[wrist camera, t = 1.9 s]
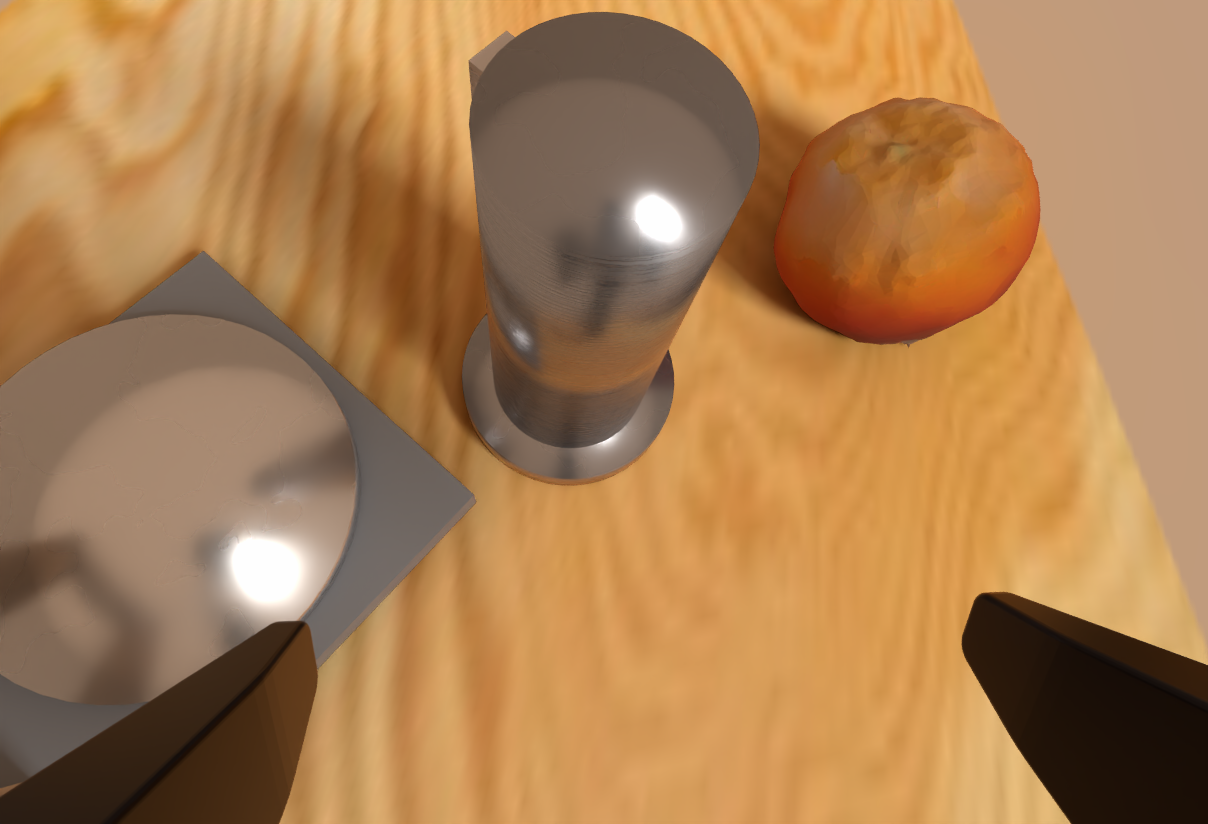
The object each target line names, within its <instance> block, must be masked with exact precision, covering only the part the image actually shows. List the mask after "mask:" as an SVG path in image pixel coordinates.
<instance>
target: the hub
mask: <svg viewBox="0 0 1208 824" xmlns="http://www.w3.org/2000/svg"><path fill="white" fill-rule="evenodd" d="M469 72H470V83H471V95H472V102H471V107H470V119H469V128H470V138H471V149H472V159H473V170H474V180H475V191H476V201H477V212H478V222H479V233H480V243H481V254H482V264H483V275H484V285H485V296H486V306H487V314H486V315H485V316H484V317H483V318H482V320H481V321H480V323H479V324H478V326H477V327H476V328H475V330H474V332H473V334H472V336H471V338H470V340H469V343H468V346H467V349H466V352H465V356H464V361H463V369H462V384H463V393H464V397H465V402H466V406H467V410H468V414H469V417H470V420H471V422H472V425H473V427H474V429H475V431H476V433H477V434H478V436H479V438H480V439H481V441H482V442H483V443H484V445H485V446H486V447H487V449H488V450H489V451H490V452H491V453H492V454H493V455H494V456H495V457H496V458H497V459H498V460H500V461H501V462H502V463H504V464H505V465H506V466H507V467H509V468H511V469H512V470H514V471H516V472H517V473H519V474H521V475H524V476H526V477H528V478H531V479H533V480H537V481H540V482H544V483H548V484H555V485H582V484H589V483H593V482H597V481H601V480H604V479H606V478H609V477H611V476H614V475H616V474H617V473H619V472H621V471H623V470H625V469H626V468H628V467H629V466H630V465H632V464H633V463H634V462H636V461H637V460H638V459H639V458H640V457H641V456H642V455H643V454H644V453H645V452H646V450H647V449H648V448H649V447H650V445H651V444H652V443H653V441H654V440H655V438H656V437H657V435H658V434H659V432H660V430H661V429H662V427H663V425H664V423H665V421H666V419H667V416H668V414H669V411H670V408H671V403H672V399H673V392H674V371H673V365H672V360H671V356H670V353H669V350H668V348H669V347H670V345H671V343H672V341H673V339H674V337H675V335H676V333H677V331H678V329H679V327H680V325H681V323H682V321H683V319H684V317H685V315H686V313H687V311H688V309H689V307H690V305H691V303H692V301H693V300H694V298H695V296H696V294H697V292H698V290H699V288H700V286H701V284H702V282H703V280H704V278H705V276H706V274H707V272H708V270H709V268H710V266H711V264H712V262H713V260H714V258H715V256H716V254H717V253H718V251H719V249H720V247H721V245H722V243H723V241H724V239H725V237H726V235H727V233H728V231H729V229H730V227H731V225H732V223H733V221H734V219H735V217H736V215H737V213H738V211H739V209H740V207H741V206H742V204H743V202H744V200H745V198H746V196H747V194H748V192H749V190H750V187H751V185H752V182H753V180H754V177H755V174H756V170H757V165H758V161H759V146H760V144H759V133H758V126H757V122H756V118H755V114H754V111H753V109H752V106H751V104H750V101H749V99H748V97H747V95H746V93H745V91H744V90H743V88H742V86H741V84H740V83H739V82H738V80H737V79H736V78H735V76H734V75H733V73H732V72H731V71H730V70H729V69H728V68H727V66H726V65H725V64H724V63H723V62H722V61H721V60H720V59H719V58H718V57H717V56H716V55H714V54H713V53H712V52H711V51H710V50H708V49H707V48H706V47H705V46H703V45H702V44H700V43H699V42H697V41H696V40H694V39H693V38H691V37H690V36H688V35H686V34H684V33H682V32H680V31H678V30H677V29H674V28H672V27H670V26H667V25H665V24H662V23H660V22H657V21H653V20H650V19H647V18H643V17H639V16H634V15H628V14H622V13H611V12H588V13H580V14H572V15H567V16H563V17H559V18H555V19H552V20H549V21H546V22H544V23H541V24H538V25H536V26H534V27H532V28H530V29H528V30H526V31H524V32H523V33H521V34H520V35H518V36H517V37H514V36H513V35H511V34H510V33H509V32H508V31H506V32H504V33H503V34H502V35H501V36H499V37H498V38H497V39H495V40H494V41H493V42H492V43H490V44H489V45H488V46H487V47H485V48H484V49H483V50H481V51H480V52H479V53H478V54H476V55H475V56H474V57H472V58H471V59H470V60H469Z"/></svg>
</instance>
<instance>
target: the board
mask: <svg viewBox="0 0 1208 824" xmlns="http://www.w3.org/2000/svg"><path fill="white" fill-rule="evenodd" d="M169 314H178V315H199V316H206V317H212V318H218V319H223V320H227V321H230V322H234V323H238V324H241V325H245V326H247V327H249V328H252V329H254V330H257V331H259V332H261V333H264V334H266V335H268V336H269V337H271V338H273V339H275V340H276V341H278V342H280V343H281V344H283V345H285V346H286V347H288V348H289V349H290V350H291V351H293V352H294V353H295V354H297V355H298V356H299V357H300V358H302V359H303V360H304V361H305V362H306V363H307V364H308V365H309V366H310V367H311V368H312V369H313V370H314V371H315V372H316V373H317V375H318V376H319V377H320V378H321V379H322V381H323V382H324V383H325V385H326V386H327V387H328V389H329V390H330V392H331V393H332V394H333V396H334V397H335V399H336V400H337V401H338V403H339V405H340V407H341V408H342V410H343V412H344V414H345V416H346V418H347V420H348V422H349V425H350V428H351V431H352V434H353V437H354V439H355V442H356V447H357V452H358V457H359V463H360V476H361V495H360V506H359V514H358V519H357V523H356V527H355V532H354V536H353V539H352V542H351V544H350V547H349V550H348V553H347V555H346V558H345V561H344V563H343V565H342V567H341V568H340V570H339V572H338V574H337V576H336V578H335V580H334V582H333V584H332V585H331V587H330V588H329V590H328V591H327V593H326V594H325V596H324V597H323V599H322V600H321V602H320V603H319V604H318V606H317V607H316V608H315V610H314V611H313V612H312V613H311V614H310V615H309V616H308V618H307V619H306V620H305V622H306V623H307V624H308V625H309V628H310V631H311V636H312V642H313V647H314V653H315V659H316V664H317V669H318V668H319V667H320V666H321V665H322V664H323V663H324V662H325V661H326V660H327V659H328V658H329V657H330V655H331V654H332V653H333V652H334V651H335V650H336V649H337V648H338V647H339V646H340V645H341V644H342V643H343V642H344V641H345V640H346V639H347V638H348V637H349V636H350V634H351V633H352V632H353V631H354V630H355V629H356V628H357V627H358V626H359V625H360V624H361V623H362V622H363V621H364V620H365V619H366V618H367V617H368V616H369V614H370V613H371V612H372V611H373V610H374V609H375V608H376V607H377V606H378V605H379V604H380V603H381V602H382V601H383V600H384V599H385V598H386V597H387V596H388V595H389V593H390V592H391V591H392V590H393V589H394V588H395V587H396V586H397V585H398V584H399V583H400V582H401V581H402V580H403V579H404V578H405V577H406V576H407V575H408V573H409V572H410V571H411V570H412V569H413V568H414V567H415V566H416V565H417V564H418V563H419V562H420V561H421V560H422V559H423V558H424V557H425V556H426V555H427V554H428V552H429V551H430V550H431V549H432V548H433V547H434V546H435V545H436V544H437V543H438V542H439V541H440V540H441V539H442V538H443V537H444V536H445V535H446V534H447V532H448V531H449V530H450V529H451V528H452V527H453V526H454V525H455V524H456V523H457V522H458V521H459V520H460V519H461V518H462V517H463V516H464V515H465V514H466V512H467V511H468V510H469V509H470V508H471V507H472V506H473V505H474V504H475V503H476V500H475V496H474V494H472V493H471V492H470V491H469V490H468V489H467V488H466V487H465V486H464V485H462V484H461V483H460V482H459V481H458V480H457V479H456V478H455V477H454V476H453V475H451V474H450V473H449V472H448V471H447V470H446V469H445V468H444V467H443V466H441V465H440V464H439V463H438V462H437V461H436V460H435V459H434V458H433V457H431V456H430V455H429V454H428V453H427V452H426V451H425V450H424V449H423V448H421V447H420V446H419V445H418V444H417V443H416V442H415V441H414V440H413V439H412V438H410V437H409V436H408V435H407V434H406V433H405V432H404V431H403V430H402V429H400V428H399V427H398V426H397V425H396V424H395V423H394V422H393V421H392V420H390V419H389V418H388V417H387V416H386V415H385V414H384V413H383V412H382V411H380V410H379V409H378V408H377V407H376V406H375V405H374V404H373V403H372V402H370V401H369V400H368V399H367V398H366V397H365V396H364V395H363V394H362V393H361V392H359V391H358V390H357V389H356V388H355V387H354V386H353V385H352V384H351V383H349V382H348V381H347V380H346V379H345V378H344V377H343V376H342V375H341V374H339V373H338V372H337V371H336V370H335V369H334V368H333V367H332V366H331V365H329V364H328V363H327V362H326V361H325V360H324V359H323V358H322V357H321V356H320V355H318V354H317V353H316V352H315V351H314V350H313V349H312V348H311V347H310V346H308V345H307V344H306V343H305V342H304V341H303V340H302V339H301V338H300V337H298V336H297V335H296V334H295V333H294V332H293V331H292V330H291V329H290V328H288V327H287V326H286V325H285V324H284V323H283V322H282V321H281V320H280V319H279V318H277V317H276V316H275V315H274V314H273V313H272V312H271V311H270V310H269V309H267V308H266V307H265V306H264V305H263V304H262V303H261V302H260V301H259V300H257V299H256V298H255V297H254V296H253V295H252V294H251V293H250V292H249V291H247V290H246V289H245V288H244V287H243V286H242V285H241V284H240V283H239V282H238V281H236V280H235V279H234V278H233V277H232V276H231V275H230V274H229V273H228V272H226V271H225V270H224V269H223V268H222V267H221V266H220V265H219V264H218V263H216V262H215V261H214V260H213V259H212V258H211V257H210V256H209V255H208V254H206V253H205V252H204V251H203V252H201V253H200V254H199V255H197V256H196V257H195V258H194V259H192V260H191V261H190V262H188V263H187V264H186V265H184V266H183V267H182V268H181V269H179V270H178V271H177V272H175V273H174V274H173V275H172V276H170V277H169V278H168V279H166V280H165V281H164V282H162V283H161V284H160V285H159V286H157V287H156V288H155V289H153V290H152V291H151V292H150V293H148V294H147V295H146V296H144V297H143V298H142V299H141V300H139V301H138V302H137V303H135V304H134V305H133V306H131V307H130V308H129V309H128V310H126V311H125V312H124V313H122V314H121V315H120V316H119V317H117V318H116V319H115V320H113V321H112V322H111V323H109V324H112V323H115V322H118V321H123V320H128V319H134V318H139V317H144V316H155V315H169ZM148 702H149V701H148ZM148 702H142V703H135V704H128V705H92V704H83V703H75V702H67V701H64V700H60V699H56V698H52V697H48V696H45V695H41V694H38V693H36V692H34V691H31V690H29V689H27V688H24V687H22V686H20V685H18V684H15V683H13V682H12V681H10V680H9V679H7V678H6V677H4V676H2V675H1V674H0V788H4V787H7V786H11V785H14V784H18V783H21V782H24V781H25V780H27V779H28V778H30V777H32V776H33V775H35V774H36V773H38V772H39V771H41V770H42V769H44V768H46V767H47V766H49V765H50V764H52V763H53V762H55V761H57V760H58V759H60V758H61V757H63V756H64V755H66V754H68V753H69V752H71V751H72V750H74V749H75V748H77V747H79V746H80V745H82V744H83V743H85V742H86V741H88V740H90V739H91V738H93V737H94V736H96V735H97V734H99V733H101V732H102V731H104V730H105V729H107V728H108V727H110V726H112V725H113V724H115V723H116V722H118V721H119V720H121V719H123V718H124V717H126V716H127V715H129V714H130V713H132V712H133V711H135V710H137V709H138V708H140V707H141V706H143V705H144V704H146V703H148Z"/></svg>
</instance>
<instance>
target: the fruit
mask: <svg viewBox="0 0 1208 824" xmlns="http://www.w3.org/2000/svg"><path fill="white" fill-rule="evenodd" d="M1039 221H1040V197H1039V189H1038V182H1037V180H1036V178H1035V175H1034V172H1033V167H1032V161H1031V160H1030V158H1029V157H1028V155H1027V153H1025V149H1024V147H1023V146H1022V145H1021V144H1020V143H1019V141H1018V140H1017V139H1015V138H1014V137H1013V136H1012V135H1011V134H1010V133H1009V132H1008V131H1007V130H1006V128H1005V127H1004V126H1003V125H1002V124H1000V123H997V122H996V121H994V120H992V119H989V118H987V117H986V116H984V115H982V114H981V113H979V112H978V111H976V110H975V109H973V108H970V107H967V106H962V105H957V104H951V103H945V102H942V101H940V100H938V99H935V98H916V99H912V100H905V99H902V98H893V99H891V100H888V101H886V102H883V103H880V104H879V105H877V106H875V107H872V108H870V109H867V110H865V111H862V112H859V113H856V114H853V115H850V116H849V117H847V118H845V119H844V120H842V121H840V122H838V123H836V124H835V125H833V126H832V127H830V128H829V129H827V130H826V131H824V132H823V133H821V134H819V135H818V136H816V137H815V138H814V139H813V140H812V141H811V142H810V144H809V145H808V147H807V150H806V152H805V154H804V156H803V158H802V159H801V161H800V163H799V165H798V166H797V168H796V169H795V171H794V173H793V174H792V176H791V179H790V183H789V188H788V194H787V199H786V203H785V206H784V209H783V213H782V216H781V218H780V221H779V225H778V228H777V231H776V235H775V240H774V254H775V258H776V265H777V269H778V271H779V274H780V276H781V278H782V280H783V282H784V283H785V285H786V286H787V287H788V289H789V290H790V291H791V293H792V294H793V296H794V298H795V300H796V301H797V303H798V305H799V306H800V307H801V309H802V310H803V311H804V312H805V313H806V314H808V315H809V316H810V317H811V318H812V319H813V320H815V321H817V322H818V323H820V324H822V325H824V326H826V327H828V328H831V329H833V330H835V331H837V332H839V333H841V334H843V335H845V336H847V337H849V338H851V339H853V340H855V341H857V342H863V343H873V344H880V345H882V344H896V343H904V344H907V346H908V348H909V345H910V344H912V343H914V342H916V341H918V340H922V339H925V338H927V337H930V336H932V335H934V334H936V333H938V332H940V331H942V330H944V329H947V328H949V327H951V326H953V325H955V324H957V323H959V322H961V321H963V320H965V319H967V318H970V317H972V316H974V315H976V314H978V313H980V312H982V311H983V310H985V309H986V308H988V307H989V306H991V305H992V304H993V303H995V302H996V301H997V300H998V299H999V298H1000V297H1001V296H1002V295H1003V294H1004V293H1005V292H1006V291H1007V290H1008V288H1009V287H1010V286H1011V284H1012V283H1013V282H1014V280H1015V279H1016V277H1017V276H1018V274H1019V272H1020V271H1021V269H1022V268H1023V266H1024V264H1025V263H1026V262H1027V260H1028V259H1029V257H1030V254H1031V251H1032V249H1033V246H1034V243H1035V240H1036V236H1037V231H1038V226H1039Z"/></svg>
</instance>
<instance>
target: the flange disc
mask: <svg viewBox="0 0 1208 824" xmlns="http://www.w3.org/2000/svg"><path fill="white" fill-rule="evenodd" d="M360 495H361V476H360V463H359V457H358V452H357V447H356V442H355V439H354V437H353V434H352V431H351V428H350V425H349V422H348V420H347V418H346V416H345V414H344V412H343V410H342V408H341V407H340V405H339V403H338V401H337V400H336V399H335V397H334V396H333V394H332V393H331V392H330V390H329V389H328V387H327V386H326V385H325V383H324V382H323V381H322V379H321V378H320V377H319V376H318V375H317V373H316V372H315V371H314V370H313V369H312V368H311V367H310V366H309V365H308V364H307V363H306V362H305V361H304V360H303V359H302V358H300V357H299V356H298V355H297V354H295V353H294V352H293V351H291V350H290V349H289V348H288V347H286V346H285V345H283V344H281V343H280V342H278V341H276V340H275V339H273V338H271V337H269V336H268V335H266V334H264V333H261V332H259V331H257V330H254V329H252V328H249V327H247V326H245V325H241V324H238V323H234V322H230V321H227V320H223V319H218V318H212V317H206V316H199V315H178V314H169V315H155V316H144V317H139V318H134V319H128V320H123V321H118V322H115V323H112V324H108V325H105V326H102V327H98V328H95V329H92V330H90V331H88V332H85V333H83V334H80V335H78V336H75V337H73V338H71V339H68V340H67V341H65V342H63V343H61V344H59V345H57V346H55V347H54V348H52V349H50V350H48V351H46V352H45V353H43V354H42V355H40V356H39V357H37V358H36V359H34V360H33V361H31V362H30V363H28V364H27V365H25V366H24V367H23V368H21V369H20V370H19V371H18V372H17V373H15V374H14V375H13V376H12V377H11V378H10V379H8V380H7V381H6V382H5V383H4V384H3V385H1V386H0V674H1V675H2V676H4V677H6V678H7V679H9V680H10V681H12V682H13V683H15V684H18V685H20V686H22V687H24V688H27V689H29V690H31V691H34V692H36V693H38V694H41V695H45V696H48V697H52V698H56V699H60V700H64V701H67V702H75V703H83V704H92V705H128V704H135V703H142V702H148V701H151V700H152V699H154V698H155V697H157V696H159V695H160V694H162V693H163V692H165V691H166V690H168V689H170V688H171V687H173V686H174V685H176V684H177V683H179V682H180V681H182V680H184V679H185V678H187V677H188V676H190V675H191V674H193V673H195V672H196V671H198V670H199V669H201V668H202V667H204V666H206V665H207V664H209V663H210V662H212V661H213V660H215V659H217V658H218V657H220V656H221V655H223V654H224V653H226V652H227V651H229V650H231V649H232V648H234V647H235V646H237V645H238V644H240V643H242V642H243V641H245V640H246V639H248V638H249V637H251V636H253V635H254V634H256V633H257V632H259V631H260V630H262V629H264V628H265V627H267V626H268V625H270V624H272V623H274V622H278V621H305V620H306V619H307V618H308V616H309V615H310V614H311V613H312V612H313V611H314V610H315V608H316V607H317V606H318V604H319V603H320V602H321V600H322V599H323V597H324V596H325V594H326V593H327V591H328V590H329V588H330V587H331V585H332V584H333V582H334V580H335V578H336V576H337V574H338V572H339V570H340V568H341V567H342V565H343V563H344V561H345V558H346V555H347V553H348V550H349V547H350V544H351V542H352V539H353V536H354V532H355V527H356V523H357V519H358V514H359V506H360Z"/></svg>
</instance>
